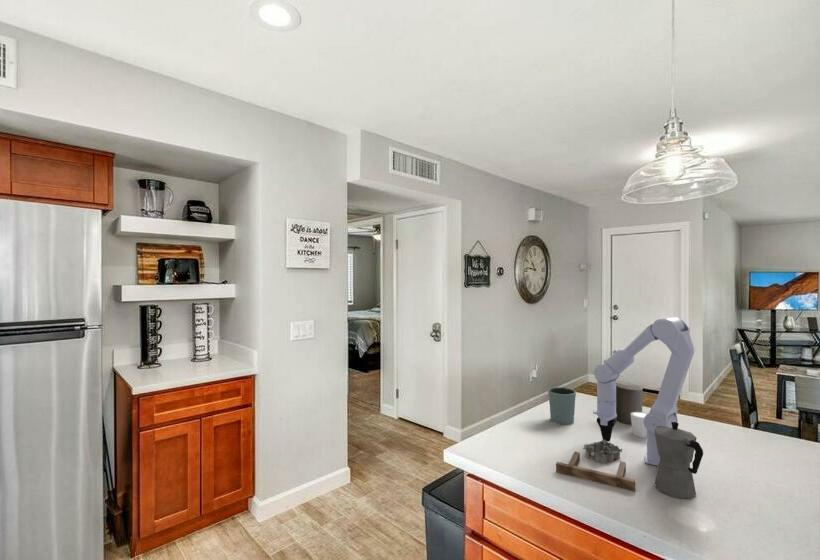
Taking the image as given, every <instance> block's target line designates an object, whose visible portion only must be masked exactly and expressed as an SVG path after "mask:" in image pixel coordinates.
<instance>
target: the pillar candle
mask: <svg viewBox="0 0 820 560" xmlns="http://www.w3.org/2000/svg"><path fill="white" fill-rule="evenodd" d="M643 391H644V390H643V386H641V385H638V384H634V383H630V382H616V414H617V417H616V418H615V419H616V422H618V423H620V424H623V425H624V424H625V425H630V426H632V423H631V413H632V412H643Z"/></svg>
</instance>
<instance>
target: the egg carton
mask: <svg viewBox="0 0 820 560" xmlns="http://www.w3.org/2000/svg"><path fill="white" fill-rule="evenodd" d="M582 449H583V450H585V453H584V455H585V458H587V459H592V460H595V462H596V464H597V463H598V464H606V463H607V461H608V462H609V461H610V462H612V461H614V459H617V460H618V459H619V460H620V459H621V453H623V450H624V448H620V447H619V446H618V445H615V444H614V443H612V442H609V441H606V440H605V439H604V440H603V439H602V440H600V441H597V442H592V443H590V444H589V443H588V444H584V445H583V448H582Z"/></svg>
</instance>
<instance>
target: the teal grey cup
mask: <svg viewBox="0 0 820 560" xmlns="http://www.w3.org/2000/svg"><path fill="white" fill-rule="evenodd" d="M547 391H548V398H549V399H548V400H549V401H548V403H549V414H550V421H551V422H552V423H554V424H557V425H564V426H570V425H573V424H574V422H575V412H576V411H575V410H576V398H577V397H576V396H577V395H576V394H577V392H576V390H574V389H572V388H568V387H562V386H554V387H550V388H548V390H547Z"/></svg>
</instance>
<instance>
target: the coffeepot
mask: <svg viewBox="0 0 820 560" xmlns="http://www.w3.org/2000/svg"><path fill="white" fill-rule="evenodd" d="M671 424H672V428H669V427H665V426H656V427H657V429H654V431H655V437H656V443H657V450H658V454H659V456H660V462H659V464H658V466H657V468H656V469H657V470H656V474H655V479H654V485H655V488H656V489H657V490H658V491H659V492H660V493H662V494H664V495H666V496H668V497H671V498H675V499H679V500H680V499H681V500H690V499H693V498H694V497H695V496H697V492H696V487H695V481H694V477H693V474H694V475H696V474H697V473H698V470H699V468H700V465H701V462H702V458H703V456H704V450H703V448H702V446H701V445H700V443H699V442H698V441H697V437H696V435H694V434H693V433H692V432H690V431H687V430H684V429H682V428H681V429H680V428H679V423H678V422H671ZM693 457H694V458H693ZM691 463H692V467H691Z"/></svg>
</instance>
